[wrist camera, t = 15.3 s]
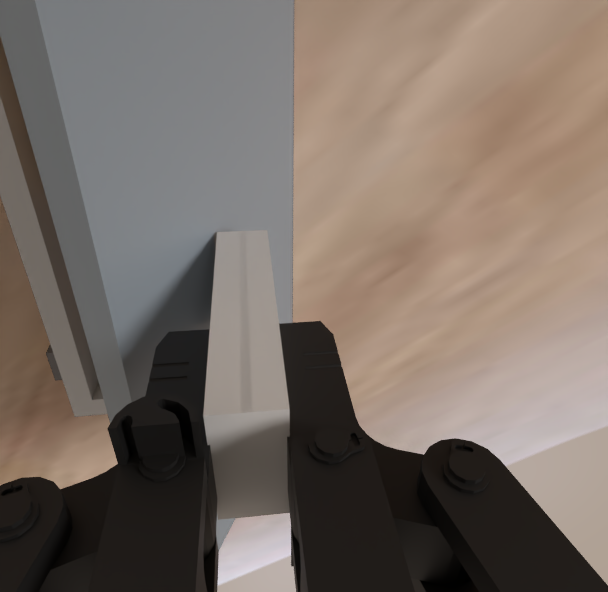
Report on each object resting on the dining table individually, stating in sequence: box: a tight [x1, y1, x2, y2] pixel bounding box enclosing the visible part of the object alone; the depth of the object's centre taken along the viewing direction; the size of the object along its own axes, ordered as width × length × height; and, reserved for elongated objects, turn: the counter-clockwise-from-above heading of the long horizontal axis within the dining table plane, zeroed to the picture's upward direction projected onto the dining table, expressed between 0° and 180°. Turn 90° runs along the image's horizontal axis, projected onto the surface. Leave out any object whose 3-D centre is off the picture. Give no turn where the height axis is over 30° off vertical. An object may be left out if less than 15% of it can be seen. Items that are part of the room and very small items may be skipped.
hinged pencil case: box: [0, 36, 108, 417], centre depth 20 cm, size 22×10×4 cm, turn 179°
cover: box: [0, 0, 294, 551], centre depth 14 cm, size 22×10×1 cm
